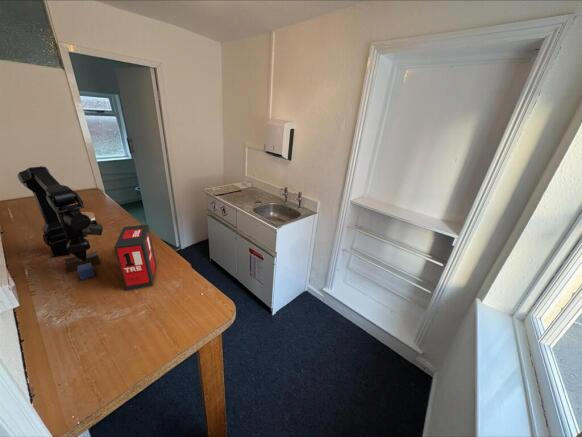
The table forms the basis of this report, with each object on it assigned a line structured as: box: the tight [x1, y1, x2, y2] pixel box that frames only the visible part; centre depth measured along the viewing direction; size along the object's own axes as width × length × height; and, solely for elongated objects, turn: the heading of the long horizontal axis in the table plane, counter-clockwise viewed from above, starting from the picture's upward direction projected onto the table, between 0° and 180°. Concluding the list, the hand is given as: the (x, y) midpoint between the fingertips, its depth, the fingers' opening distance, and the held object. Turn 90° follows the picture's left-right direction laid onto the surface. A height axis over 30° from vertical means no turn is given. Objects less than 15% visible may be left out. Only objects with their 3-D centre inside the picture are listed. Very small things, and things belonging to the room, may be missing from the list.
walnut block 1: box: [64, 256, 82, 273], centre depth 100 cm, size 4×4×4 cm
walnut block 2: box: [85, 250, 101, 267], centre depth 104 cm, size 4×4×4 cm
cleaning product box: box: [114, 224, 157, 291], centre depth 96 cm, size 16×9×20 cm, turn 23°
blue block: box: [77, 262, 95, 281], centre depth 97 cm, size 4×4×4 cm
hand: (83, 256), depth 95 cm, fingers open, 9 cm apart
